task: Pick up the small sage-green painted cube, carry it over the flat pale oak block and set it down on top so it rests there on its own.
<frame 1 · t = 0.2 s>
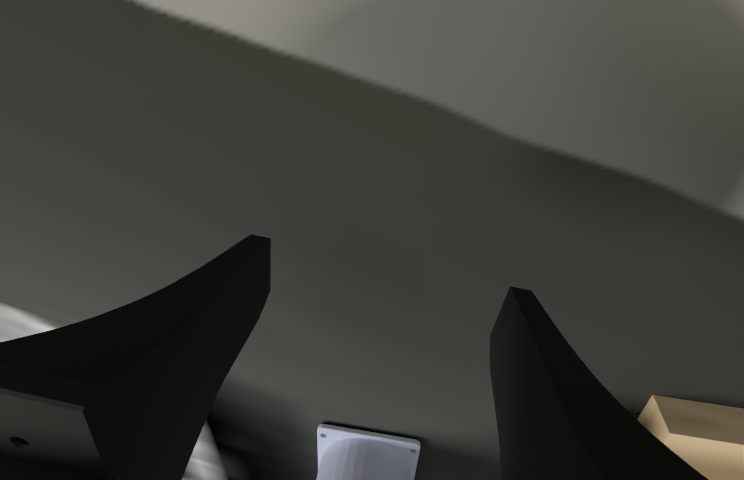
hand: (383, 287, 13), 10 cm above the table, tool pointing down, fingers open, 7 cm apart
oak block: (684, 431, 30), on the table
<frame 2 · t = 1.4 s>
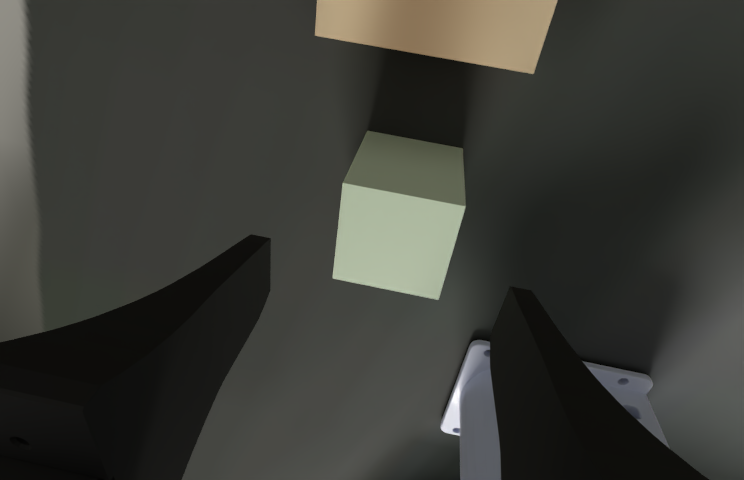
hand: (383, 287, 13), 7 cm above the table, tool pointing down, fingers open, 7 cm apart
sage cube: (406, 182, 20), on the table
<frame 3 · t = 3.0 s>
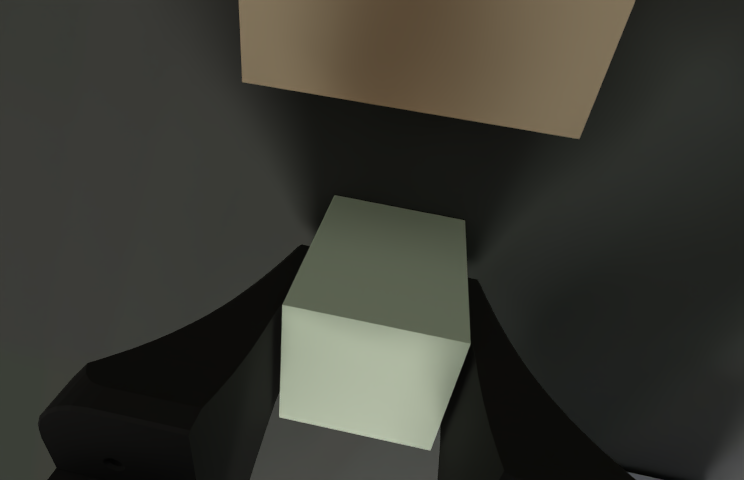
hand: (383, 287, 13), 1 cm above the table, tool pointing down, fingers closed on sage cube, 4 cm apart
sage cube: (388, 260, 15), on the table, touching gripper
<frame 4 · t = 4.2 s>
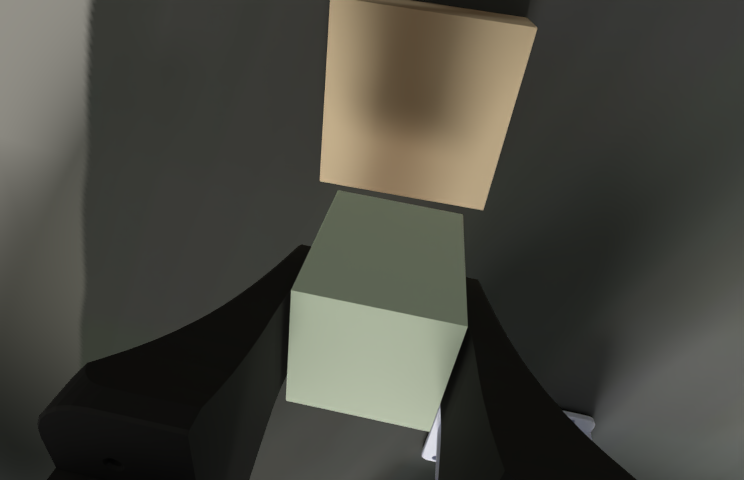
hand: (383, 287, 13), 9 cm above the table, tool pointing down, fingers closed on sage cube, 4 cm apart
oak block: (419, 93, 19), on the table
sage cube: (389, 253, 15), point 7 cm above the table, touching gripper
when the fingers open (6 cm above the table, at t = 5.8 s): sage cube stays where it is, resting on oak block.
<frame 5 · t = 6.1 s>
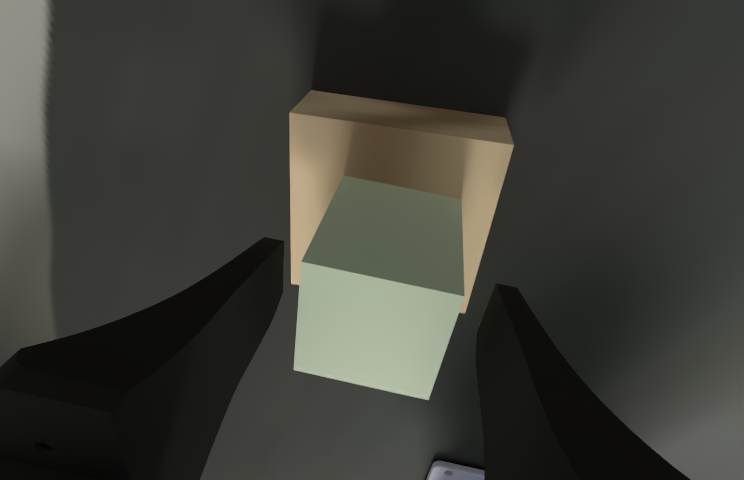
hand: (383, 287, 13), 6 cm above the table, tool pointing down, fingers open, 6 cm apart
oak block: (395, 186, 18), on the table, touching sage cube
sage cube: (392, 236, 16), point 3 cm above the table, touching oak block
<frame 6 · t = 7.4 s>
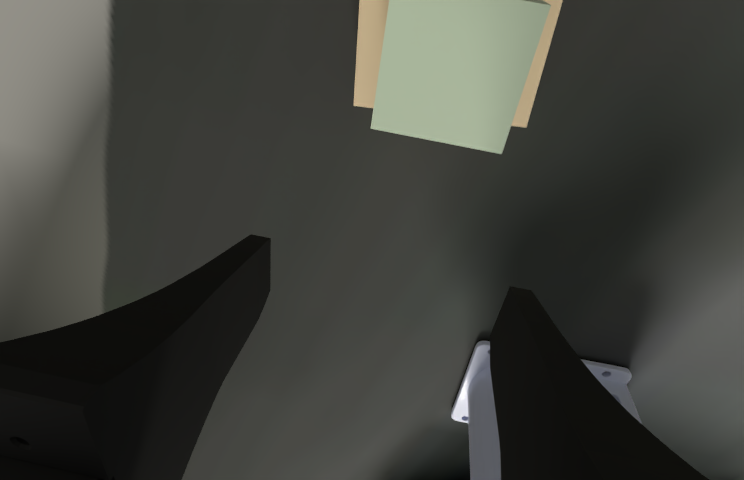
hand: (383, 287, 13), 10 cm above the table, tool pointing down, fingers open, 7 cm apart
oak block: (454, 10, 18), on the table, touching sage cube
sage cube: (453, 40, 16), point 3 cm above the table, touching oak block
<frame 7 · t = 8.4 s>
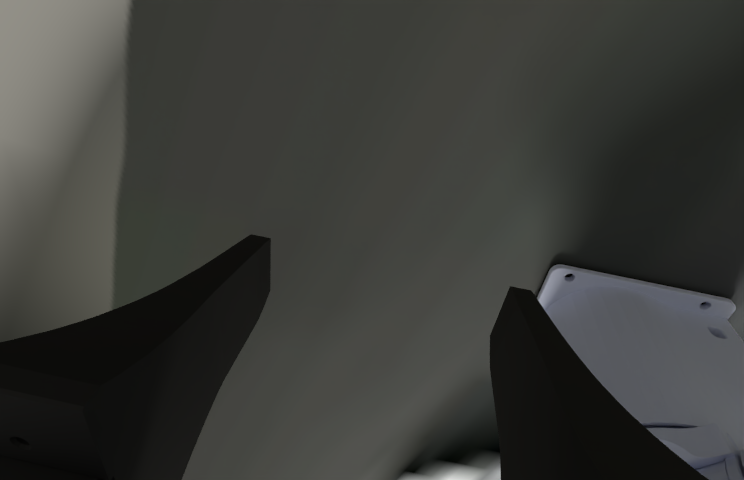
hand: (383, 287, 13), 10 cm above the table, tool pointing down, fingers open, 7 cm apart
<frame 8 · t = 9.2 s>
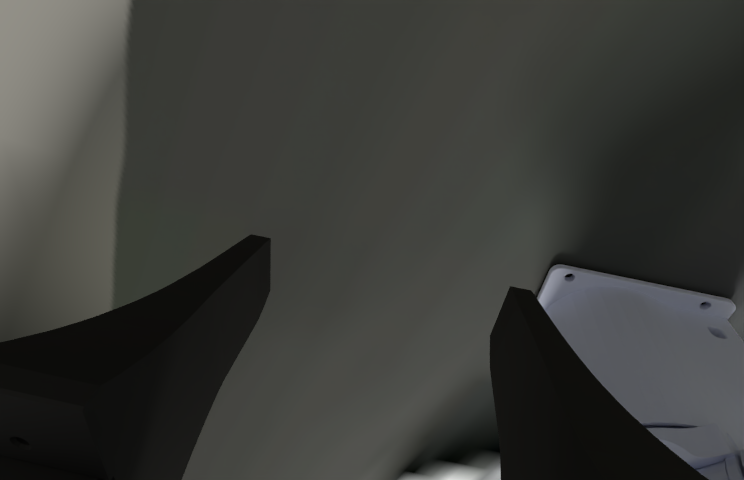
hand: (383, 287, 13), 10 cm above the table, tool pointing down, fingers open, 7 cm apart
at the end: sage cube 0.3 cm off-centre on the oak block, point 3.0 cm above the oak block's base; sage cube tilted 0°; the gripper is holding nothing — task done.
